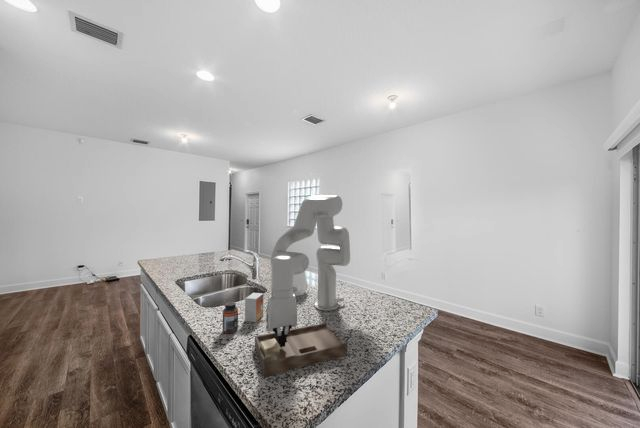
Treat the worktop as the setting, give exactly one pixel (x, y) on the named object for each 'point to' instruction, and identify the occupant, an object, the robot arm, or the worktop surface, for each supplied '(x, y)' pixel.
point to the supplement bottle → (230, 318)
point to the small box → (254, 307)
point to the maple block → (270, 348)
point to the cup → (300, 283)
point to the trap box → (301, 349)
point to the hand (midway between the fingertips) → (281, 344)
